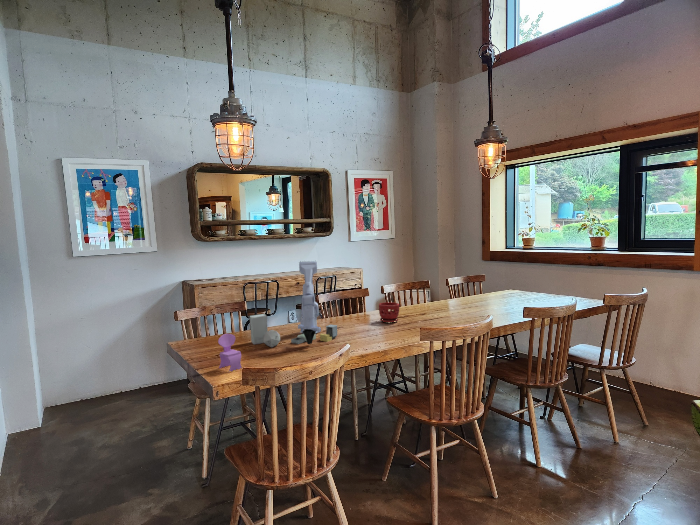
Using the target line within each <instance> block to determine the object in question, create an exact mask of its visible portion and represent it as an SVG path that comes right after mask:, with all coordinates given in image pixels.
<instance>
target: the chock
mask: <svg viewBox="0 0 700 525" xmlns="http://www.w3.org/2000/svg"><path fill="white" fill-rule="evenodd" d="M332 340H333V339H332V337H329V335H327V334H326V333H320V334H319V341H320V342H325V343H326V342H327V343H328V342H330V341H332Z"/></svg>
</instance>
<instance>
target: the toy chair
mask: <svg viewBox="0 0 700 525" xmlns="http://www.w3.org/2000/svg"><path fill="white" fill-rule="evenodd" d="M235 342H236V336H235V335H234V334H231V333H224V334H222V335H221V336H220V337H219V338H218V340H217V343H218V344H219V346H221V347H222V348H223V351H221V352H219V358H220V363H219V367H218V369H223V368H225V366H226V367H229V366H230V368H229V370H228V372H229V371H231V372H234V371H233V370H235V371H237V370H236V369H238V370H241V369H243V367H242V364H241V361H242V360H241V359H242V352H241V351H240V350H236V349H231V347H232V346H233V345H234V344H235ZM222 367H223V368H222ZM240 368H241V369H240Z"/></svg>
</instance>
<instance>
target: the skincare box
mask: <svg viewBox="0 0 700 525" xmlns="http://www.w3.org/2000/svg"><path fill="white" fill-rule="evenodd" d="M249 325H250V326H249V327H250V328H249V329H250V341H251V343H252V344H253V345H259V344H265V343H264V342H263V336H264V335H265V333H266V332H267V331H269V330H268V316H267V315H266V314H265V313H261V314H255V315H254V314H253V315H249Z"/></svg>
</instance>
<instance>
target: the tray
mask: <svg viewBox="0 0 700 525" xmlns="http://www.w3.org/2000/svg"><path fill="white" fill-rule="evenodd" d="M297 337H299V338H304V341H305V342H304V343H307V340H306V337H304V334H303V333H300V334H298V335H297ZM316 338H317V336H316V333H315V334H314V337H313V341H314V340H316Z"/></svg>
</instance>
